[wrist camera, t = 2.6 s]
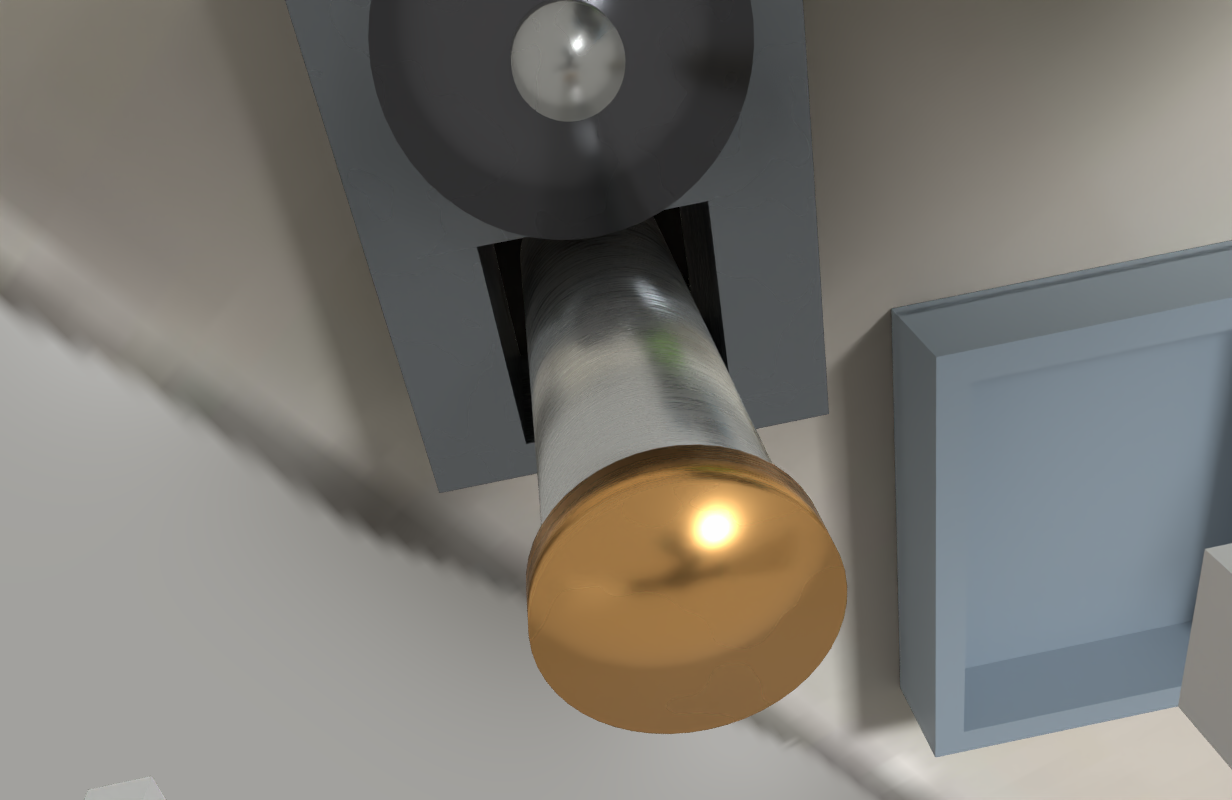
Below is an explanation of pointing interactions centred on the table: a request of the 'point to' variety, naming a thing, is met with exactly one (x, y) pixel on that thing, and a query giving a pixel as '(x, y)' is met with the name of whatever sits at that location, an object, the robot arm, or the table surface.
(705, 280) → the grey boxy piece
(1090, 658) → the parts tray
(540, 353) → the glass jar with lid
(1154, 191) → the table surface
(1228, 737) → the robot arm
